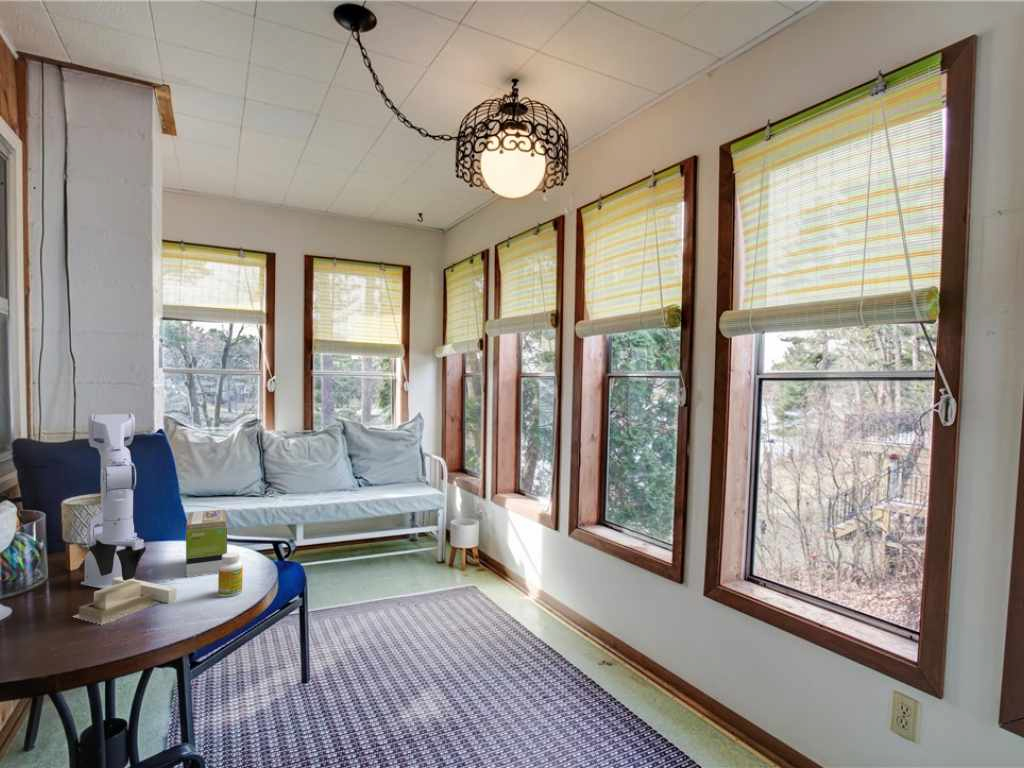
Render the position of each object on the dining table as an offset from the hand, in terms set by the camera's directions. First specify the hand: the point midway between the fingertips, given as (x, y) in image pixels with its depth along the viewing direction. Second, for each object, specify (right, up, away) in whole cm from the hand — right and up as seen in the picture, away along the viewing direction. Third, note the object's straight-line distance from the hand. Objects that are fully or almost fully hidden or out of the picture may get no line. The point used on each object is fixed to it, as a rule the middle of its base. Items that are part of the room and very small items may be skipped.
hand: (117, 576), depth 130 cm
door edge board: (0, -8, +9) cm, 12 cm away
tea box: (+4, -8, +30) cm, 32 cm away
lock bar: (0, -8, 0) cm, 8 cm away
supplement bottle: (+20, -8, +11) cm, 25 cm away
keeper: (0, -8, 0) cm, 8 cm away
